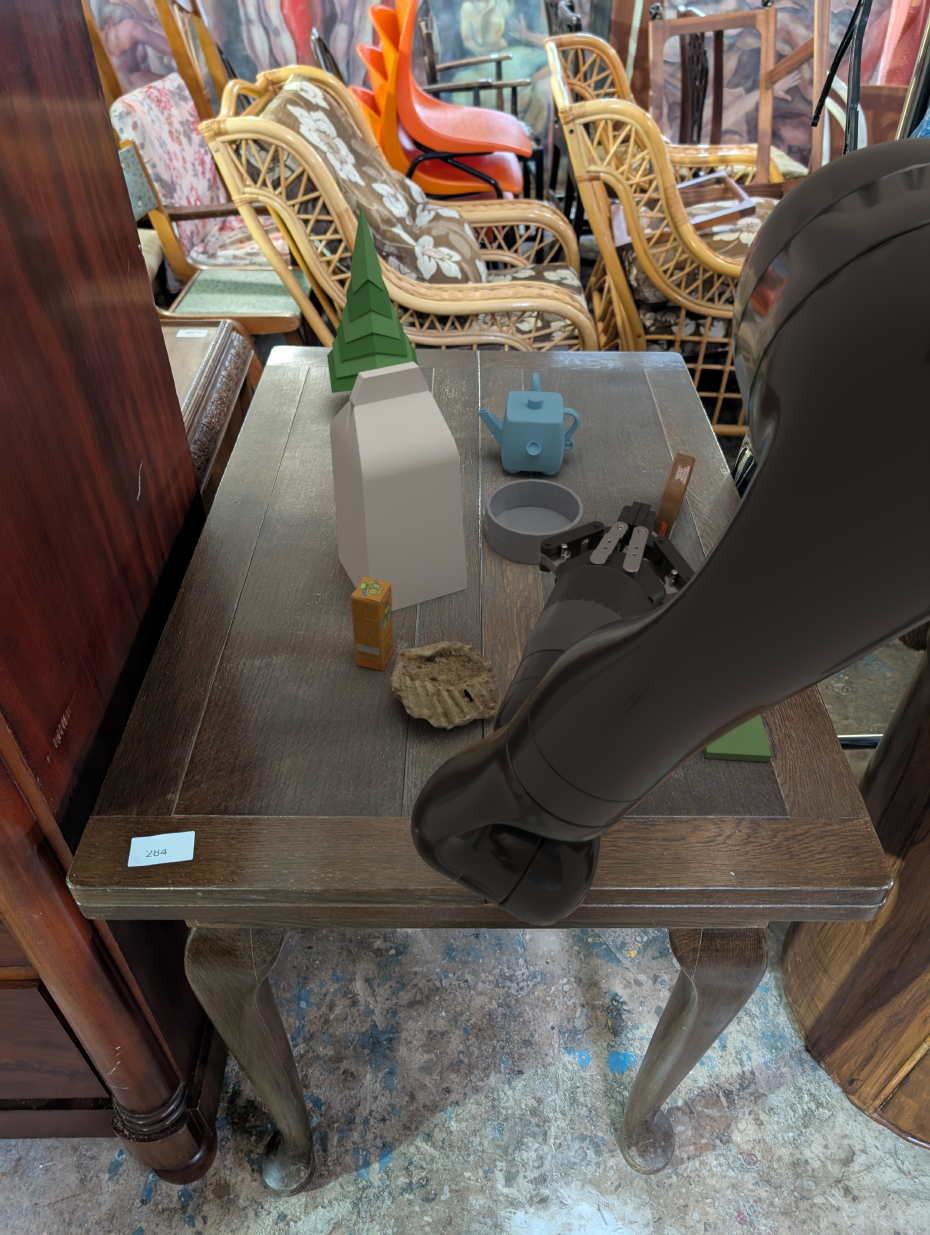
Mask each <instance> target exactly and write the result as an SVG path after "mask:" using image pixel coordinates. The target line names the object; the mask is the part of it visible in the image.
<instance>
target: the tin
mask: <svg viewBox="0 0 930 1235" xmlns="http://www.w3.org/2000/svg"><path fill="white" fill-rule="evenodd" d="M695 463H696V458H695V457H694V456H690V455H688V454H682V453H679V452H678V451H676V453H675V455H674V458H673V461H672V462H671V467H670V469H669V472H668V475H667V477H666V481H665V484H664V487H663V489H662V493H661V496H660V499H659V501H658V505H657V508H656V510H655V512H656V520H655V525H654V529H653V532H654V533H656V534H657V535H658V536H665V537H667V538H668V539H669V540H670V541H671V539H672V537H673V533H674V531H675V527H676V523H677V521H678V517H679V513H680V511H681V508H682V504H683V502H684V498H685V494H686V493H687V492H686V491H687V489H688V486H689V483H690V480H691V477H692V473H693V469H694V466H695Z"/></svg>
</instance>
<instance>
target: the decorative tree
mask: <svg viewBox="0 0 930 1235" xmlns="http://www.w3.org/2000/svg"><path fill="white" fill-rule="evenodd" d="M365 214H366V213H365V211H364V208H363V204H360V209H359V214H358V220H357V226H356V232H355V233H356V234H355V239H354V244H353V245H354V246H353V250H352V256H351V262H350V269H349V270H350V272H349V273H350V281H349V284H348V288H347V291H346V295H345V300H346V302H345V305H344V307H343V309H342V312H341V321H340V322H339V325H338V326H337V328H336V336H335V338H334V339H333V341H332V342H331V347H332V348H331V350H330V351H329V352H328V353H327V355H326V359H327V366H328V371H329V372H328V374H329V383H330V391H331V394H335V393H343V392H349V391H351V392H352V390H353V387H354V384H355V382H356V379H357V376H358V373H359V372H364V371H369V370H374V369H379V368H384V367H389V366H394V365H399V364H404V363H409V362H415V363H416V364H417V366H418V367H419V363H418V357H417V352H416V348H415V347H414V346H413V345H412V344H411V341H410V337H409V336H408V335H407V334H406V332H405V331H404V325H403V323H402V322H401V320H400V319H399V318H398V315H397V310H396V308H395V306H394V304H393V303H392V301H391V298H390V292H389V290H388V288H387V286H386V283H385V280H384V278H383V272H382V266H381V263H380V260H379V257H378V252H377V250H376V246H375V244H374V240H373V237H372V234H371V230H370V227H369V224H368V221H367V217H366V215H365Z"/></svg>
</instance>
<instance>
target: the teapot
mask: <svg viewBox="0 0 930 1235" xmlns="http://www.w3.org/2000/svg"><path fill="white" fill-rule="evenodd" d="M529 388H530V389H529V390H511V391H509V393H508V395H507V400H506V404H505V409H504V414H503V418H502V420H500V419H499V418H498V417H497V416H496V415H494V413H493V412H491V410H489V409H488V407H486V408H481V409H477V410H478V412H477V414H478V416H479V417H480V419H481V421H482V422H483V424H484V426H486V428H487V429H488V431H489V432H490V434H491V435H492V437H493V438H494V440H495V441H496V443H497V445H499V446H500V457H501V458H500V459H501V463H502V467H503V469H504V470H505V471H506V472H508V473H510V474H518V473H520V472H521V471H522V472H541V474H543V475H546V476H552V475H554V474H556V473H557V472H559V471H560V469H561V467H562V464H563V460H564V454H565V451H571V450H572V449H574V447H575V445H576V442H575V441H576V440H575V439H574V437H573V438H572V436H573V435H574V434H575V433H576V431H577V429H578V428H579V425H580V423H581V422H580V421H581V418H580V415H579V414H578V412H577V411H576V410H575V409H573V408H570V407H564V399H563V395H562V394H561V393H560V392H555V391H554V392H553V391H542V389H541V375H540V373H539V372H536V371H535V372H534V373H533V374H532V377H531V384H530V387H529ZM565 415H568V416H570V417H572V418H573V419H574V420H573V423H572V425H571V427H570V428H569V429H568V430H567V432H566V419H565ZM567 442H569V443H568V444H567Z"/></svg>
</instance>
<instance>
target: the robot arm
mask: <svg viewBox="0 0 930 1235" xmlns="http://www.w3.org/2000/svg"><path fill="white" fill-rule="evenodd" d="M732 307H733V309H732V318H731V327H732V328H731V331H732V332H731V334H732V335H731V338H732V341H731V343H732V344H731V353H732V359H733V360H732V361H733V366H734V372H735V378H736V382H737V385H738V388H739V392H740V396H741V400H742V405H743V409H744V415H745V417H746V418H745V419H746V423H747V424H746V425H747V428H748V436H749V441H750V447H751V451H752V455H753V458H754V460H755V464H756V469H755V471H754V473H753V475H752V476H751V479H750V481H749V483H748V485H747V487H746V489H745V491H744V493H743V495H742V497H741V498H740V501H739V503H738V505H737V506H736V508H735V509H734V512H733V513H732V515H731V517H730V519H729V520H728V522H727V523H726V525H725V527H724V529H723V530H722V531H721V534H720V535H719V537H718V539H717V540H716V541H715V543H714V544H713V546H712V548H711V550H710V551H709V553H708V554H707V556H706V557H705V558H704V560H703V562H702V563H701V564H700V566H698V568H697V570H696V571H694V569H693V568H692V567H691V565H690V564H689V563H688V561H687V560H686V559H685V557H683V555H682V554H681V553H680V552H679V550H678V549H677V548H676V546H675V545H674V544H673V542H672V541H671V539H670V540H669V539H668V538H667V537H665V536H657V537H653V536H652V532H653V529H654V525H655V520H656V510H652V509H651V508H652V504H651V503H646V502H641V501H637V500H633V502H632V505H628V504H626V505H624V506H623V507H622V509H621V510H620V514H619V516H618V518H617V520H616V521H615V522H614V523H613V524H612V525H610V526H605V524H604V523H603V522H602V521H598V520H595V521H591V522H588V523H586V524H583V525H581V526H580V527H577V528H574V529H572V530H569V531H566V532H564V533H561V534H558V535H555V536H553V537H550V538H547V539H544V540H542V541H541V545H540V554H539V564H538V569H539V570H540V571H541V572H543V573H552V574H554V575H555V578H554V580H553V583H554V586H553V588H552V590H551V592H550V594H549V596H548V598H547V600H546V602H545V604H544V606H543V608H542V611H541V612H540V615H539V616H538V618H537V621H536V622H535V624H534V626H533V629H532V630H531V633H530V634H529V637H528V639H527V641H526V644H525V646H524V650H523V652H522V657H521V660H520V662H519V666H518V668H517V670H516V672H515V674H514V676H513V678H512V680H511V682H510V684H509V686H508V688H507V690H506V692H505V694H504V696H503V698H502V700H501V702H500V704H499V705H498V711H497V713H496V715H495V716H494V720H493V731H492V733H489V734H488V735H486V736H484V737H482V738H480V739H478V740H476V741H474V742H472V743H470V744H469V745H467V746H465V747H464V748H462V749H461V750H459V751H458V752H456V753H455V754H453V755H452V756H451V757H450V758H448V759H447V760H446V761H444V762H443V763H442V764H441V765H440V766H439V767H438V768H437V769H436V770H435V772H433V773H432V775H431V776H430V777H429V778H428V780H427V781H426V783H425V784H424V785H423V787H422V789H421V790H420V792H419V794H418V796H417V797H416V800H415V802H414V805H413V809H412V812H411V818H410V834H411V839H412V842H413V846H414V848H415V850H416V852H417V854H418V855H419V858H421V860H422V861H424V862H425V864H426V865H428V866H429V867H430V868H432V869H433V870H434V871H436V872H437V873H439V874H440V875H442V876H444V877H445V878H447V879H450V880H451V881H453V882H455V883H456V884H458V885H460V886H461V887H463V888H466V889H467V890H469V891H470V892H472V893H474V894H475V895H477V896H478V897H481V898H483V900H486V901H488V902H490V903H491V904H493V905H495V906H497V907H498V908H499V909H501V910H503V911H504V912H506V913H508V914H510V915H512V916H513V917H515V918H517V919H519V920H521V921H522V922H525V923H527V924H530V925H533V926H543V927H544V926H550V925H554V924H556V923H558V922H561V921H563V920H564V919H566V918H567V917H569V916H570V915H571V914H572V913H574V912H575V911H576V910H577V908H579V907H580V905H581V904H582V903H583V902H584V900H585V899H586V897H587V895H588V893H589V892H590V890H591V888H592V885H593V883H594V880H595V877H596V874H597V871H598V867H599V863H600V856H601V850H602V836H603V834H605V833H607V832H608V831H610V830H611V829H612V828H613V827H614V826H616V825H617V824H618V823H619V822H621V821H622V820H623V819H624V818H625V817H626V816H627V815H628V814H630V812H631V811H633V810H634V809H635V808H637V807H638V805H639V804H641V803H642V802H643V801H644V800H645V799H646V798H647V797H648V796H650V795H651V794H652V793H653V792H655V791H656V789H658V788H659V787H660V786H661V785H662V784H663V783H664V782H665V781H666V780H667V779H669V778H670V777H671V776H672V775H673V774H674V773H676V771H678V770H679V769H680V768H681V767H683V766H684V765H685V764H686V763H688V762H689V761H690V760H691V759H692V758H694V757H695V756H696V755H698V754H699V753H701V752H702V751H704V749H705V748H706V747H707V746H709V745H710V744H711V743H713V742H714V741H716V740H717V739H719V738H721V737H722V736H724V735H725V734H727V733H728V732H730V731H732V730H733V729H735V728H736V727H738V726H740V725H742V724H744V723H745V722H747V721H749V720H751V719H753V718H754V717H756V716H758V715H760V714H761V715H762V714H764V713H765V712H767V711H769V710H772V709H773V708H774V707H776V706H779V705H781V704H782V703H784V702H786V701H787V700H790V699H791V698H794V697H795V696H797V695H799V694H801V693H803V692H805V691H807V690H809V689H811V688H812V687H814V686H816V685H818V684H819V683H821V682H823V681H825V680H826V679H828V678H831V677H832V676H834V675H836V674H838V673H840V672H841V671H843V670H845V669H847V668H849V667H850V666H852V665H854V664H855V663H857V662H858V661H860V660H862V659H864V658H866V657H868V656H869V655H871V654H872V653H874V652H876V651H877V650H879V649H881V648H883V647H885V646H887V645H888V644H890V643H892V642H894V641H895V640H897V639H899V638H901V637H902V636H904V635H906V634H908V633H910V632H912V631H914V630H915V629H917V628H918V627H920V626H922V625H924V624H926V623H928V622H930V137H927V136H923V137H906V138H900V139H893V140H887V141H882V142H879V143H875V144H869V145H868V146H864V147H861V148H859V149H855V150H852V151H850V152H848V153H846V154H843V155H841V156H839V157H837V158H835V159H833V160H831V161H829V162H827V163H825V164H823V165H822V166H820V167H818V168H817V169H815V170H814V171H812V172H811V173H810V174H809V175H807V176H806V177H805V178H803V179H802V180H800V182H798V183H797V184H796V185H795V186H793V187H792V188H790V189H789V191H788V192H787V193H786V194H785V195H783V197H782V198H780V200H779V201H778V202H777V203H776V205H775V206H774V207H773V208H772V210H771V211H770V212H769V214H767V216H766V217H765V219H764V221H763V222H762V224H761V226H760V227H759V229H758V230H757V232H756V234H755V235H754V238H753V239H752V241H751V243H750V245H749V248H748V250H747V252H746V255H745V257H744V259H743V262H742V265H741V269H740V271H739V275H738V280H737V285H736V290H735V294H734V300H733V306H732ZM586 540H587V541H586ZM584 541H586V542H584ZM583 542H584V543H583ZM626 546H628V550H627V553H625V552H624V548H625V547H626ZM644 558H645V559H647V560H649V561H650V563H648V562H647V561H646V560H644ZM654 571H655V572H654ZM656 574H657V575H656ZM658 577H659V578H660V580H659V578H658Z"/></svg>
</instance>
